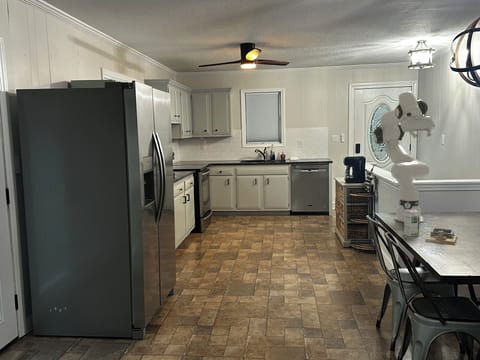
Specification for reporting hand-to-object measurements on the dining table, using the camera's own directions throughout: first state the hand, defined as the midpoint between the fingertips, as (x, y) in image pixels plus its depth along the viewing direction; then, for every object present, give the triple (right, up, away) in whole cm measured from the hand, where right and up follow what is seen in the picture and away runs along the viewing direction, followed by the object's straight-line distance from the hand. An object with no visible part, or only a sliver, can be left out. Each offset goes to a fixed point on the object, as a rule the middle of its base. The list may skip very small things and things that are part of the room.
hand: (422, 136), depth 240 cm
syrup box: (-6, -57, +2) cm, 57 cm away
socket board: (+7, -57, -8) cm, 58 cm away
